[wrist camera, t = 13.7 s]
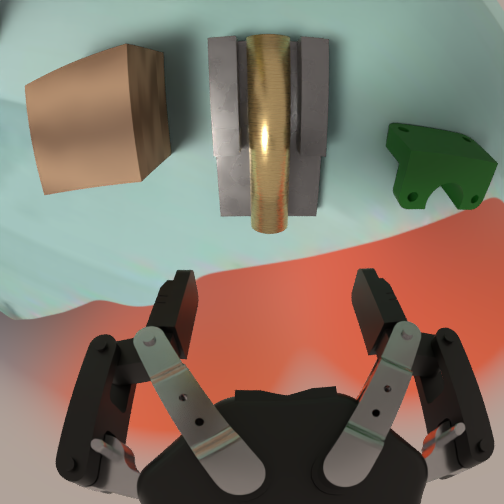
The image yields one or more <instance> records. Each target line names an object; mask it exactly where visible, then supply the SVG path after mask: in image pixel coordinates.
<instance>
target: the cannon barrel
mask: <svg viewBox="0 0 504 504" xmlns="http://www.w3.org/2000/svg"><path fill="white" fill-rule="evenodd" d="M246 45H247V83H248V120H249V157H250V195H251V226H252V228H253V229H254V230H255V231H257V232H260V233H265V234H274V233H279V232H282V231H284V230H285V229H286V228H287V223H288V200H289V171H290V123H291V63H290V37H288V36H284V35H276V34H260V35H252V36H248V37H247V38H246Z"/></svg>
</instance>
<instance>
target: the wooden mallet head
mask: <svg viewBox="0 0 504 504" xmlns="http://www.w3.org/2000/svg"><path fill="white" fill-rule="evenodd" d="M25 94H26V105H27V113H28V121H29V128H30V134H31V140H32V145H33V150H34V155H35V160H36V164H37V168H38V172H39V177H40V180H41V184H42V188H43V191H44V195H48V194H54V193H60V192H65V191H72V190H78V189H85V188H92V187H99V186H107V185H115V184H123V183H133V182H141V181H143V180H144V179H145V178H146V177H147V176H148V175H149V174H150V173H151V172H152V171H153V170H154V169H155V168H157V167H158V166H159V165H160V164H161V163H162V162H163V161H164V160H165V159H167V158H168V157H169V156H170V155H171V146H170V137H169V127H168V116H167V105H166V92H165V77H164V57H163V53H162V52H159V51H155V50H151V49H148V48H144V47H139V46H135V45H131V44H124V45H120V46H117V47H114V48H111V49H107V50H104V51H101V52H99V53H96V54H93V55H90V56H88V57H85V58H82V59H80V60H77V61H75V62H72V63H70V64H68V65H65V66H63V67H61V68H59V69H57V70H54V71H52V72H50V73H48V74H46V75H44V76H42V77H40V78H38V79H36V80H34V81H33V82H31V83H29V84H27V85H25Z"/></svg>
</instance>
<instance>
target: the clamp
mask: <svg viewBox="0 0 504 504" xmlns="http://www.w3.org/2000/svg"><path fill="white" fill-rule="evenodd" d="M386 147H387V149H388V150H389V151H390V152H391V154H392V155H393V156H394V157H395V159H396V160H397V161H398V163H399V167H398V171H397V175H396V179H395V183H394V187H393V193H394V195H395V197H396V199H397V201H398V202H399V204H400V206H401V207H403V208H405V209H425V205H426V202H427V200H428V198H429V196H430V195H431V194H432V192H433V191H434V190H435V189H437V188H438V187H439V186H441V187H442V188H443V189H444V191H445V192H446V193H447V195H448V196H449V198H450V199H451V200H452V202H453V203H454V205H455V206H456V207H457V209H462V210H472V209H475V208H476V207H478V206H479V205H480V204H481V202H482V201H483V199H484V196H485V194H486V192H487V190H488V187H489V185H490V182H491V180H492V178H493V175H494V172H495V170H496V167H497V164H498V163H497V162H496V161H495V160H494V159H493V158H492V157H491V156H490V155H489V154H488V153H487V152H486V151H485V150H484V149H483V148H482V147H481V146H480V145H478V144H477V143H476V142H475V141H474V140H473V139H471V138H470V137H468V136H466V135H463V134H460V133H455V132H450V131H445V130H439V129H434V128H428V127H421V126H414V125H407V124H398V123H392V124H390V125H389V130H388V136H387V142H386Z"/></svg>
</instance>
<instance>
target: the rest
mask: <svg viewBox="0 0 504 504" xmlns="http://www.w3.org/2000/svg"><path fill="white" fill-rule="evenodd" d="M208 60H209V84H210V104H211V122H212V138H213V153H214V156H216V159H217V173H218V187H219V199H220V212H221V216H251V195H250V157H249V120H248V83H247V45H246V41H238V39H237V37H236V36H225V37H213V38H208ZM290 63H291V123H290V171H289V200H288V216H316V212H317V202H318V190H319V178H320V164H321V156H323V157H326V143H327V124H328V96H329V39H323V38H314V37H302V36H301V37H300V38H299V40H298V41H297V42H295V41H290Z"/></svg>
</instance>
